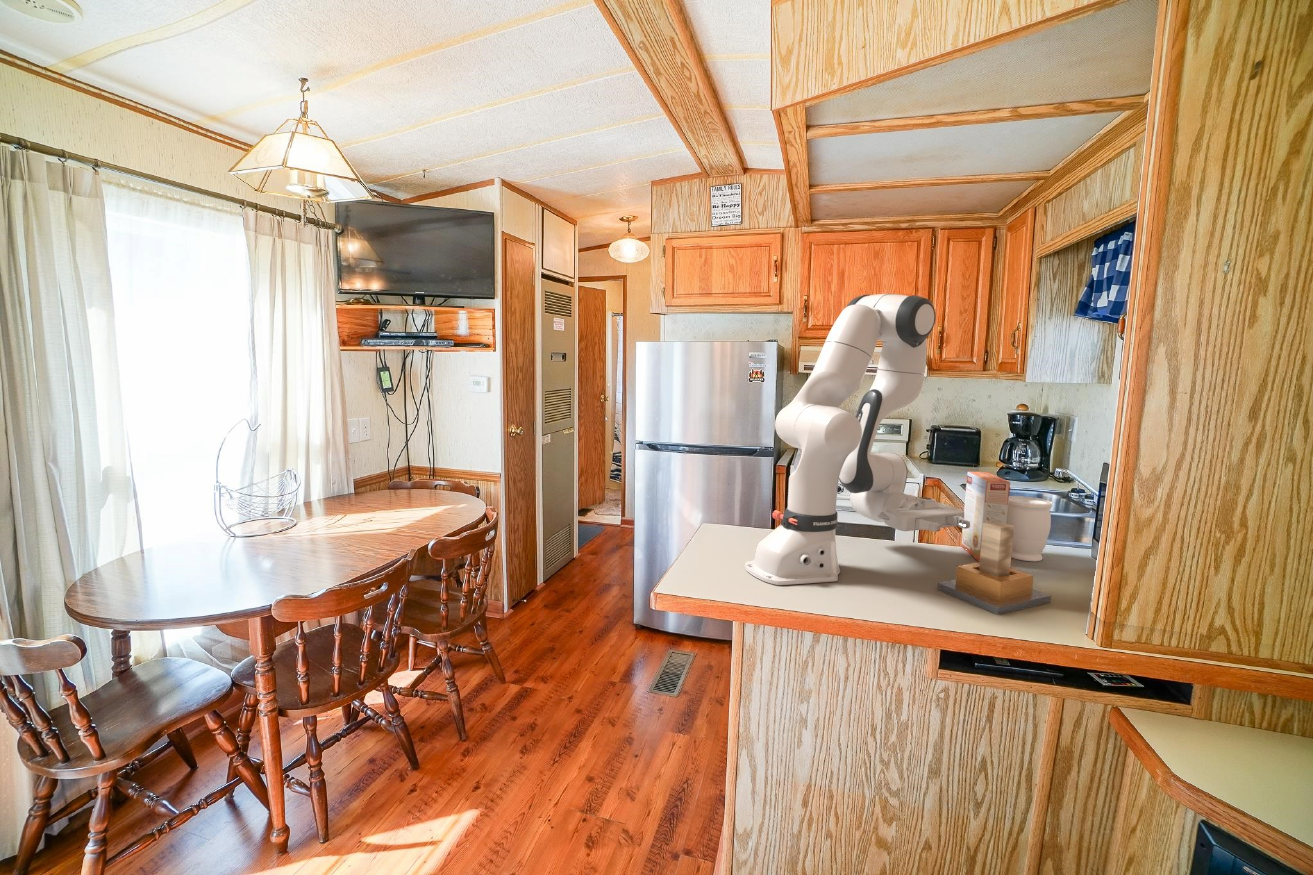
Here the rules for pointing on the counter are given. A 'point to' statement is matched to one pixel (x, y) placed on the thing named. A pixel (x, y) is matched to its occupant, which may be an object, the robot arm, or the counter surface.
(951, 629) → the counter surface
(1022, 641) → the counter surface
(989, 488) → the cracker box
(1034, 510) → the jar
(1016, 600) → the socket base
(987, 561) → the wedge pin
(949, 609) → the counter surface
